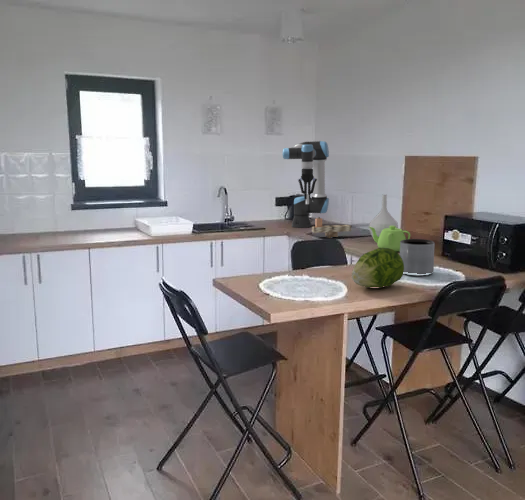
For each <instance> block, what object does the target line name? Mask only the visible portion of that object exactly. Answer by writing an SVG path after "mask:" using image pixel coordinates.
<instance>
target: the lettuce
mask: <svg viewBox="0 0 525 500" xmlns="http://www.w3.org/2000/svg"><path fill="white" fill-rule="evenodd" d="M403 272H404V263H403V260H402V258H401V256H400V253H398V252H396V251H394V250H393V249H390V248H379V247H378V248H375V249H373V250H371V251H367V252H365V253H363V254H362V255H361V256H360V257H359V259H358V260H357V262H356V263H355V265H354V267H353V269H352V272H351V279H352V281H353V282H354V283H355V284H356V285H358V286H359V287H360V286H361V287H364V286H365V287H364V288H367V287H383V286H388V287H391V286H392V285H393V284H395V283H397V282H398V281H400V280H401V279H402V278H403V275H404V274H403Z"/></svg>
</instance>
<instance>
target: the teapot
mask: <svg viewBox="0 0 525 500" xmlns="http://www.w3.org/2000/svg"><path fill="white" fill-rule="evenodd" d="M389 227H390V228H385V229H383V230H382V232H381V234H380V236H379V237H378V236H377V235H376V231H375V229H374V228H373V227H369V226H368V229H369V228H370V229H371V230H372V233H373V237H372V238H373V240H374V242H375V243H377V244H376V245H377V247H378V248H390V249H393V250H394V251H396V252H397V253H398V252H400V241H401V240H405V239H411V232H410V231H408V230H403V229H402V228H399V227H398V228H396V226H389ZM405 233H406V234H407V236H408V237H407V238H406V235H405Z"/></svg>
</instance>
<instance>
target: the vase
mask: <svg viewBox="0 0 525 500" xmlns="http://www.w3.org/2000/svg"><path fill="white" fill-rule="evenodd" d="M387 196H388V195H387V194H382V196H381V197H382V198H381V209H380V211H379V212H378V214H377V215H376V216H374V218H373V219H372V220H370V222H369V225H368V230H369V233H370V236H371V237H372V238H373V233H372V230H371V229H370V228H369V227H373V228H374V229H375V231H376V235H377V236H378V237H379V236H380V234H381V232H382V230H383V229H385V228H390V227H389V226H396V228H398V229H399V224H398V221H397V220H396V219H395V218H394V217H393V216H392V215H391V213H390V212H389V211H388V209H387V208H388V207H387V204H388V203H387V202H388V201H387V199H388V198H387Z"/></svg>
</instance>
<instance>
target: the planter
mask: <svg viewBox="0 0 525 500" xmlns="http://www.w3.org/2000/svg"><path fill="white" fill-rule="evenodd" d="M435 244H436V243H435V241H433V240H430V239H425V238H423V239H421V238H410V239H408V238H406V239H405V240H401V241H400V251H399V255H400V256H401V258H402V260H403V263H404V272H408V273H417V274H426V273H432V272H433V273H434V271H435V270H434V268H435V267H434V266H435ZM433 273H432V274H433Z"/></svg>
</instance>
